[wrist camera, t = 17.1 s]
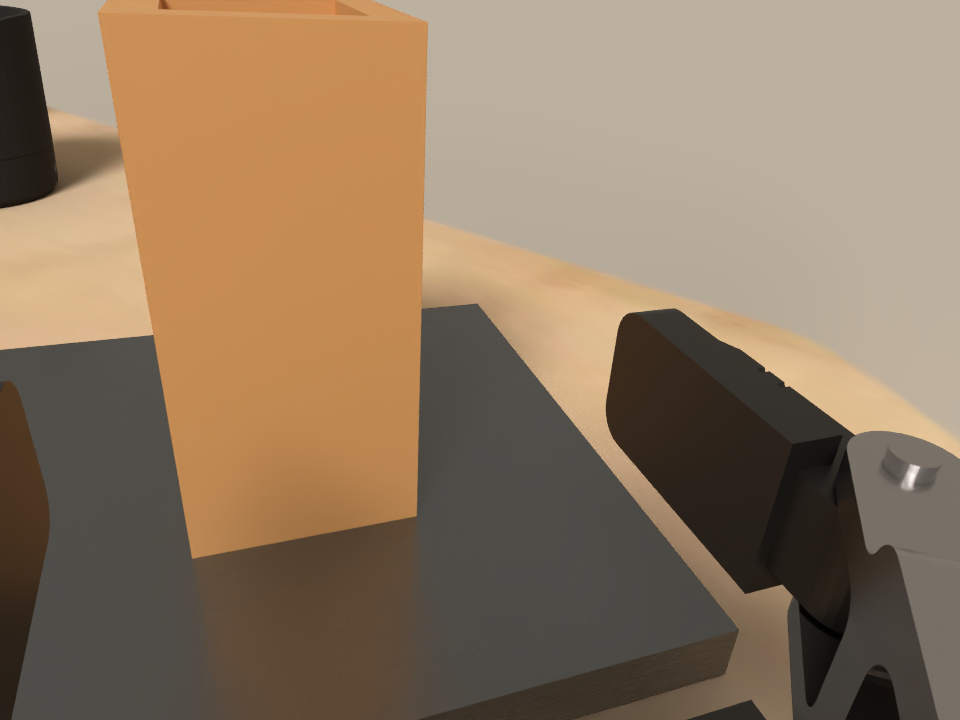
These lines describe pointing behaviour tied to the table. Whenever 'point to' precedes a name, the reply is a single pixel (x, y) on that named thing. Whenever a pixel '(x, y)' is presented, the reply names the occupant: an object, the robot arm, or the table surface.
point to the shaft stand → (352, 564)
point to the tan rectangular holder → (279, 253)
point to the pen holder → (23, 114)
